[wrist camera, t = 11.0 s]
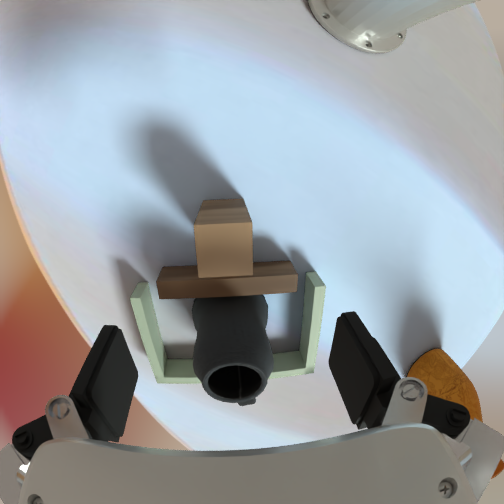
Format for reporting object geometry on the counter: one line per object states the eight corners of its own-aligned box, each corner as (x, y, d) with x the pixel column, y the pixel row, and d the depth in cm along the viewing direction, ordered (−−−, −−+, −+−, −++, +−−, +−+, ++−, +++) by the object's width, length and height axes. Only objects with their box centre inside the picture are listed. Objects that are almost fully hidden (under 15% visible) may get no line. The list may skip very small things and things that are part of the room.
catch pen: (138, 282, 29) (129, 298, 26) (315, 271, 31) (325, 285, 28) (161, 365, 34) (157, 383, 31) (306, 355, 36) (313, 372, 32)
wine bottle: (395, 378, 41) (465, 500, 14) (431, 339, 39) (520, 456, 11) (417, 385, 44) (480, 487, 16) (449, 351, 42) (524, 449, 14)
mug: (182, 288, 30) (166, 356, 20) (261, 272, 30) (281, 336, 20) (209, 362, 34) (208, 430, 24) (275, 350, 35) (292, 417, 24)
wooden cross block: (154, 203, 26) (125, 229, 18) (292, 197, 27) (321, 220, 19) (165, 282, 29) (147, 332, 21) (289, 276, 31) (311, 323, 22)
